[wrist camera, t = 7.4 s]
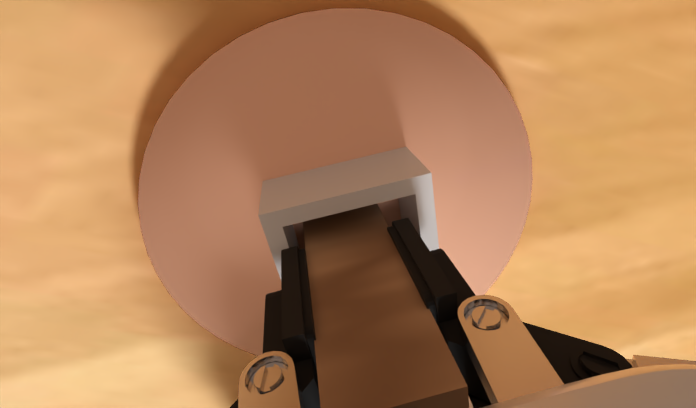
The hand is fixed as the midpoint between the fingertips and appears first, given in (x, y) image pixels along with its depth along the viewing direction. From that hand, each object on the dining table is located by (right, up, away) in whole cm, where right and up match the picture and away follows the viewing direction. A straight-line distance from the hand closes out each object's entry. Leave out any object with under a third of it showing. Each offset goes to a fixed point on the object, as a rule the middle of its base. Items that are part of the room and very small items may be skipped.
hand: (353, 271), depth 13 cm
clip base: (0, +2, +4) cm, 4 cm away
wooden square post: (0, +1, +3) cm, 3 cm away
